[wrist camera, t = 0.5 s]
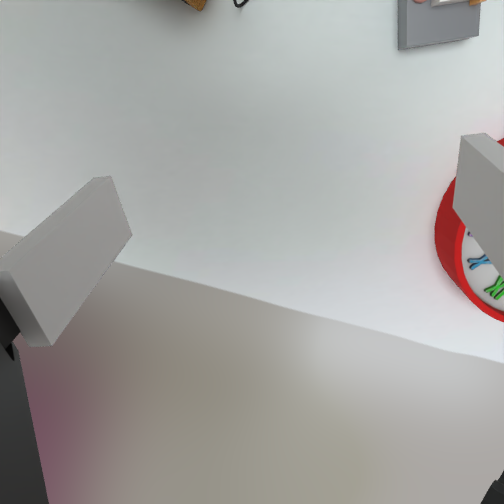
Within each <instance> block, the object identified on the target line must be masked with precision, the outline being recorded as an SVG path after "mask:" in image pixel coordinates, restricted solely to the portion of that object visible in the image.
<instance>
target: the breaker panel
mask: <svg viewBox="0 0 504 504" xmlns="http://www.w3.org/2000/svg"><path fill="white" fill-rule="evenodd" d="M484 1H486V0H398V50H402V49H408V48H414V47H421V46H427V45H434V44H440V43H446V42H453V41H459V40H465V39H469V38H472V37H476V36H479V21H480V6H481V2H484Z"/></svg>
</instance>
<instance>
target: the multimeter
mask: <svg viewBox="0 0 504 504" xmlns="http://www.w3.org/2000/svg"><path fill="white" fill-rule="evenodd" d="M182 1H184V2H185V3H187V4H188V5H191V6H192V7H194V8H195V9H197V10H199V11H201V10H202V9H203V6H204V4H205V2H206V0H182ZM233 1H234V4H235V6H236V7H238V8H240V7H242V6H243V5H244V4H245V3H246V2H247V1H248V0H244V1H243V2H242V3H241V4H237V2H236V0H233Z"/></svg>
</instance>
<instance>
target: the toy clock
mask: <svg viewBox="0 0 504 504" xmlns="http://www.w3.org/2000/svg"><path fill="white" fill-rule="evenodd" d="M497 142H498V143H499V144H500V145H502V146H503V147H504V138H503V139H501V140H499V141H497ZM455 183H456V177H455V178H454V180H453V181H452V182H451V184H450V186H449V187H448V189H447V191H446V193H445V194H444V196H443V199H442V201H441V204H440V206H439V209H438V212H437V217H436V223H435V245H436V250H437V254H438V257H439V259H440V262H441V264H442V266H443V268H444V269H445V271H446V272H447V273H448V275H449V276H450V278H451V279H452V280H453V281H454V282H455V283H456V284H457V286H458V287H459V288H460V289H461V290H462V291H463V292H464V293H465V295H466V296H467V297H468V298H469V299H470V300H471V301H472V302H473V303H474V304H475V305H476V306H477V307H478V308H479V309H480V310H482V311H483V312H484V313H486V314H488V315H489V316H491V317H493V318H494V319H496V320H499V321H502V322H504V280H503V278H502V277H501V276H500V274H499V273H498V271H497V270H496V269H495V267H494V266H493V264H492V263H491V261H490V260H489V259H488V257H487V256H486V254H485V253H484V252H483V250H482V249H481V247H480V246H479V244H478V243H477V242H476V240H475V239H474V237H473V236H472V235H471V233H470V232H469V230H468V229H467V227H466V226H465V225H464V223H463V222H462V220H461V219H460V218H459V216H458V215H457V213H456V212H455V210H454V209H453V200H454V191H455Z"/></svg>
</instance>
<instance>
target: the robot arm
mask: <svg viewBox="0 0 504 504" xmlns="http://www.w3.org/2000/svg"><path fill="white" fill-rule="evenodd" d="M453 209H454V210H455V212H456V213H457V215H458V216H459V218H460V219H461V220H462V222H463V223H464V225H465V226H466V227H467V229H468V230H469V232H470V233H471V235H472V236H473V237H474V239H475V240H476V242H477V243H478V244H479V246H480V247H481V249H482V250H483V252H484V253H485V254H486V256H487V257H488V259H489V260H490V261H491V263H492V264H493V266H494V267H495V269H496V270H497V271H498V273H499V274H500V276H501V277H502V278H503V280H504V147H503V146H502V145H500V144H499V143H498V142H496V141H495V140H494V139H492V138H491V137H490V136H488V135H487V134H486V133H481V134H472V135H464V136H461V141H460V149H459V157H458V166H457V174H456V183H455V191H454V200H453ZM131 236H132V233H131V230H130V227H129V225H128V222H127V219H126V216H125V213H124V211H123V208H122V205H121V202H120V200H119V197H118V194H117V191H116V188H115V186H114V183H113V180H112V177H111V176H106V177H98V178H93V179H92V180H91V181H90V182H88V183H87V184H86V185H85V186H84V187H83V188H81V189H80V190H79V191H78V192H77V193H76V194H74V195H73V196H72V197H71V198H70V199H69V200H67V201H66V202H65V203H64V204H63V205H62V206H60V207H59V208H58V209H57V210H56V211H55V212H53V213H52V214H51V215H50V216H49V217H48V218H46V219H45V220H44V221H43V222H42V223H41V224H39V225H38V226H37V227H36V228H35V229H34V230H32V231H31V232H30V233H29V234H28V235H27V236H25V237H24V238H23V239H22V240H21V241H20V242H18V243H17V244H16V245H15V246H14V247H13V248H11V249H10V250H9V251H8V252H7V253H6V254H5V255H3V256H2V257H1V258H0V504H49V502H48V498H47V493H46V487H45V482H44V477H43V472H42V467H41V462H40V457H39V452H38V448H37V442H36V437H35V432H34V427H33V422H32V417H31V412H30V407H29V402H28V397H27V392H26V387H25V382H24V377H23V372H22V367H21V362H20V357H19V352H18V350H17V348H16V346H15V345H14V343H13V342H12V341H13V340H14V339H15V337H16V336H17V335H18V334H19V333H21V334H22V336H23V337H24V339H25V341H26V342H27V344H28V346H29V347H39V346H40V347H41V346H52V345H53V344H54V343H55V341H56V340H57V338H58V337H59V336H60V334H61V333H62V331H63V330H64V329H65V327H66V326H67V324H68V323H69V322H70V320H71V319H72V318H73V316H74V315H75V314H76V312H77V311H78V309H79V308H80V307H81V305H82V304H83V302H84V301H85V300H86V298H87V297H88V296H89V294H90V293H91V291H92V290H93V289H94V287H95V286H96V284H97V283H98V282H99V280H100V279H101V277H102V276H103V275H104V273H105V272H106V271H107V269H108V268H109V267H110V265H111V263H112V262H113V261H114V260H115V258H116V257H117V255H118V254H119V253H120V251H121V250H122V249H123V247H124V246H125V244H126V243H127V242H128V240H129V239H130V238H131ZM481 504H504V471H503V473H502V475H501V476H500V478H499V479H498V481H497V480H495V481H494V482H493V483H492V485H491V486H490V488H489V490H488V491H487V493H486V495H485V497H484V498H483V500H482V502H481Z"/></svg>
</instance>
